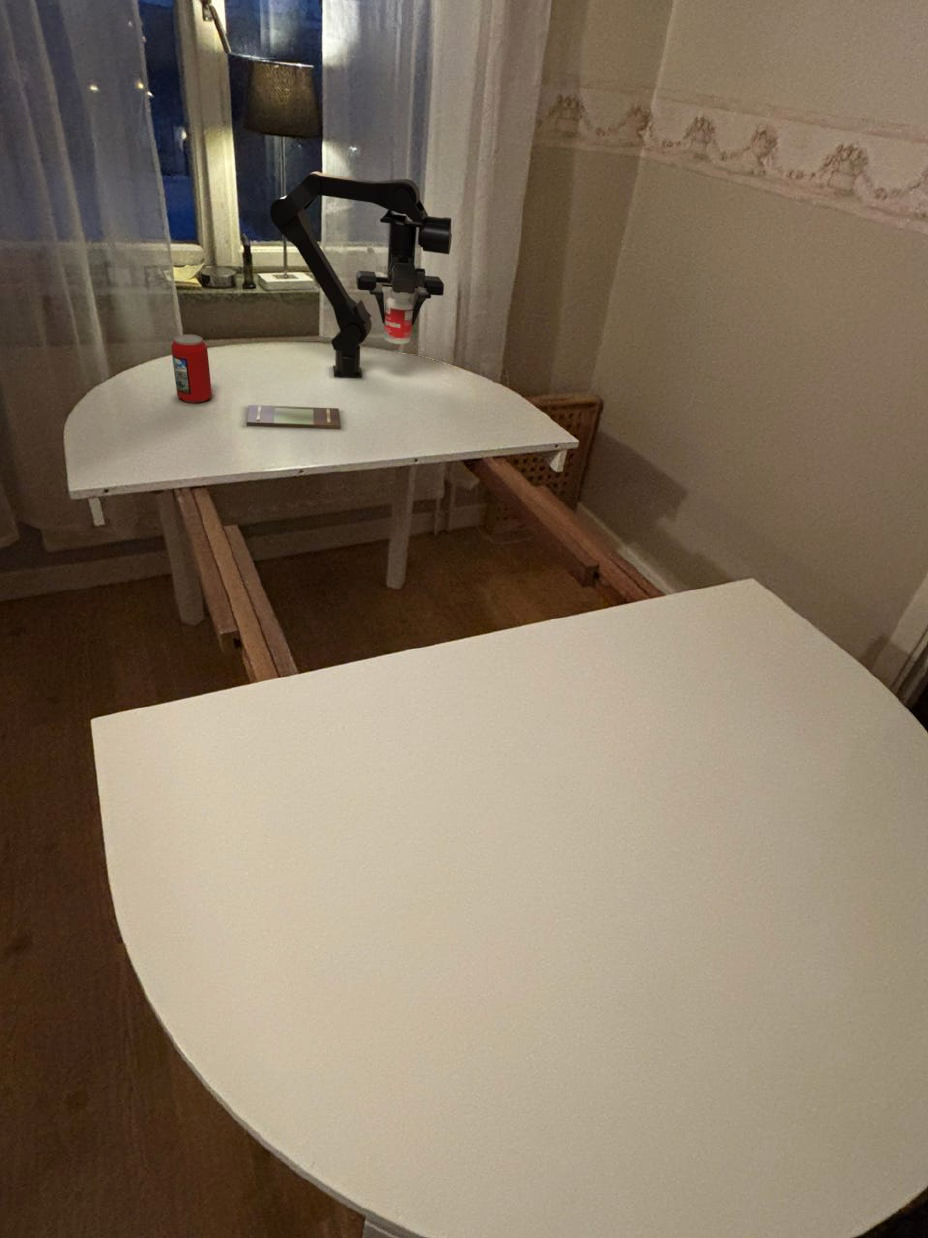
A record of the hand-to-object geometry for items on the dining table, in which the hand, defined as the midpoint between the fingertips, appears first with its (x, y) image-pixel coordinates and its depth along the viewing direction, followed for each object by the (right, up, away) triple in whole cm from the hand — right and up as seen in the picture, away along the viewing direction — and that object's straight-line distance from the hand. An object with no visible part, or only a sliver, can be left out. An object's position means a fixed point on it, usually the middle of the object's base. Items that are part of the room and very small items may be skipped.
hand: (397, 323), depth 166 cm
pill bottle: (0, -3, +2) cm, 4 cm away
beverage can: (-40, -21, -14) cm, 48 cm away
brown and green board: (-19, -26, -18) cm, 37 cm away
